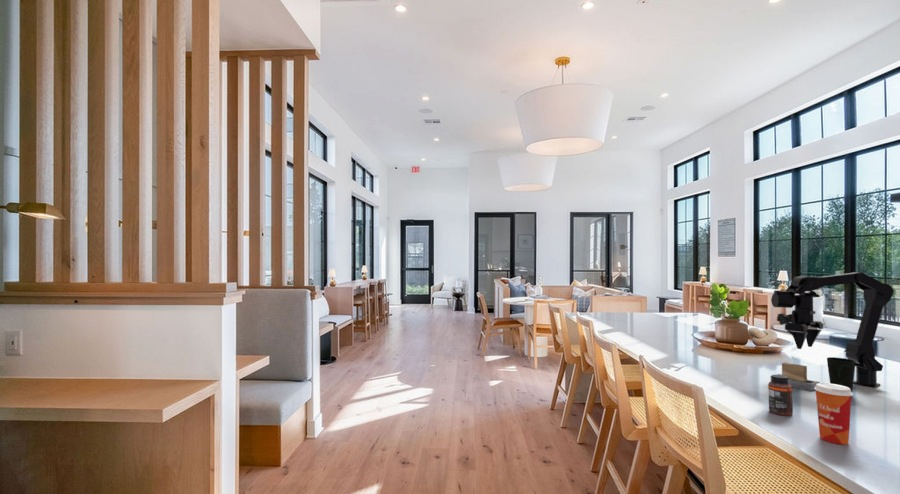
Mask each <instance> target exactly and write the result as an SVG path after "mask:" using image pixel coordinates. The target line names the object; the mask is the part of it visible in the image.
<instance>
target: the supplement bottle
mask: <svg viewBox="0 0 900 494" xmlns="http://www.w3.org/2000/svg"><path fill="white" fill-rule="evenodd" d="M771 376H772V381H771V380H770V381H769V382H768V383H767V384H768V385H767V386H768V387H767V388H768V389H767V390H768V392H767V394H768V411H769V412H771V414H775V415H779V416H789V417H790V416H792V415H793V413H794V408H793V407H794V406H793V387H792V386H791V385H790V384H789V383H788V377H787V376H783V375H777V374H772V375H771Z"/></svg>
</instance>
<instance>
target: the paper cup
mask: <svg viewBox="0 0 900 494" xmlns="http://www.w3.org/2000/svg"><path fill="white" fill-rule="evenodd" d="M814 389H815V390H814V391H815V397H816V408H817V409H816V410H817V422H818V431H819V438H820V439H821V440H822V441H824V442H826V443H830V444H834V445H839V446H840V445H841V446H846V445H848V444H849V440H850V439H849V438H850V426H851V409H852V407H851V406H852V396H854V393H853V391H852V392H851V389H850V388H848V387H846V386H842V385H837V384H831V383H830V382H828V383H827V382H826V383H825V382H820V384H819V383H817V384H816V387H815V388H814Z"/></svg>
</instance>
